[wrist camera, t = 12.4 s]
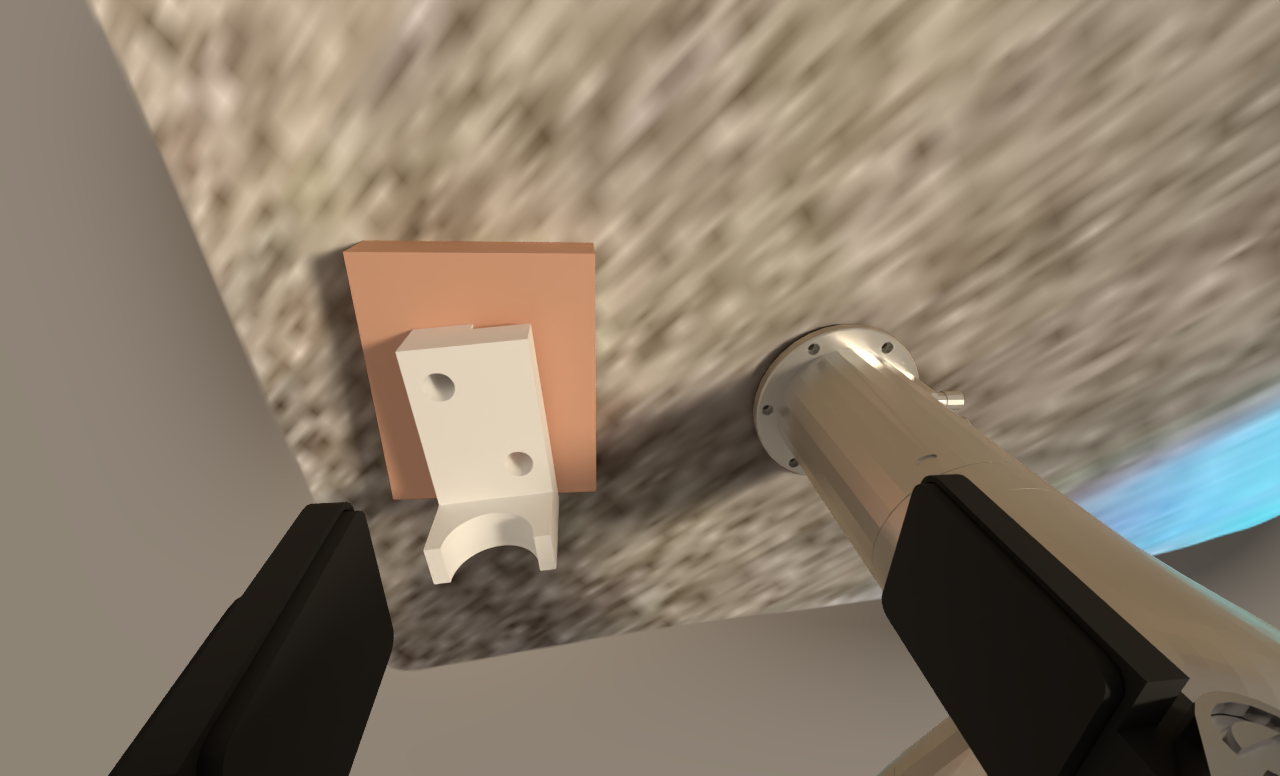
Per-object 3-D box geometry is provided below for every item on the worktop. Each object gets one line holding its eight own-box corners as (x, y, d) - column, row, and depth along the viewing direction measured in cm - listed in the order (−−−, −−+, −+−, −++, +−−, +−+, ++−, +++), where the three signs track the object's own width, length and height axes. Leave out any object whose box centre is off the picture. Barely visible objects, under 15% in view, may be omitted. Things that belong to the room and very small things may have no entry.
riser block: (592, 240, 35) (594, 253, 32) (594, 460, 43) (596, 491, 39) (366, 238, 34) (342, 251, 30) (409, 467, 41) (393, 499, 38)
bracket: (559, 491, 39) (556, 568, 32) (458, 502, 38) (434, 584, 32) (531, 318, 33) (520, 368, 26) (412, 329, 33) (370, 384, 26)
